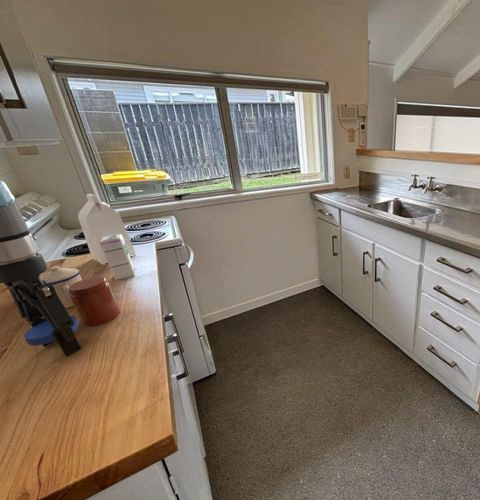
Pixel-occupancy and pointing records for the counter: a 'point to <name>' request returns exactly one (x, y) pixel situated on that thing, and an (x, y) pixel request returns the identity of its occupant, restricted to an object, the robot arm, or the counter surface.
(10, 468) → the counter surface
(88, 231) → the milk
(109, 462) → the counter surface
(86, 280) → the jam jar
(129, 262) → the syrup box
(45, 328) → the jam lid
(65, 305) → the teacup with lid
